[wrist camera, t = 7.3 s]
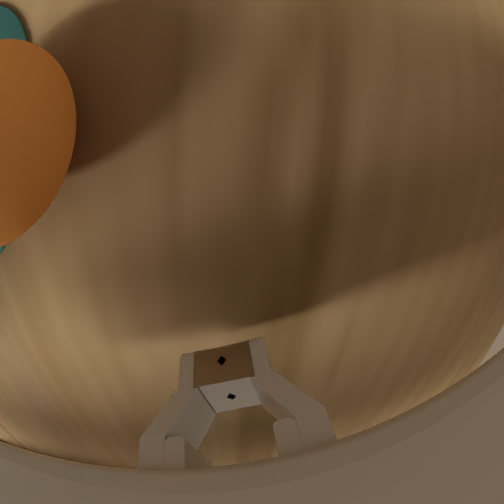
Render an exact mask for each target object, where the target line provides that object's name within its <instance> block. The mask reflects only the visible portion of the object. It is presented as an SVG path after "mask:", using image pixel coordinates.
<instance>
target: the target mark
mask: <svg viewBox="0 0 504 504" xmlns="http://www.w3.org/2000/svg"><path fill="white" fill-rule="evenodd" d="M0 39H19V40H24V41H27V37H26V34H25V31H24V28H23V26H22V23H21V22H20V20H19V19H18V17H17V15H16V14H14V13H13V12H12V11H11V10H10V9H8V8H6V7H4V6H1V5H0ZM4 246H5V245H4ZM4 246H2V247H0V253H1V252H2V250H3V248H4Z"/></svg>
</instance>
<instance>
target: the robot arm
mask: <svg viewBox="0 0 504 504" xmlns="http://www.w3.org/2000/svg"><path fill="white" fill-rule="evenodd" d="M255 405H262V406H263V407H264V408H265V409H266V410H267V411H268V412H269V413H270V414H272V415H273V416H274V417H275V418H276V419H277V421H275V423H274V424H273V430H274V435H275V440H276V445H277V450H278V455H279V456H278V457H274V458H269V459H264V460H259V461H253V462H247V463H240V464H233V465H226V466H217V467H211V461H210V460H208V459H207V458H206V457H205V456H203V455H202V454H201V453H200V452H199V451H198V449H199V447H200V445H201V443H202V441H203V439H204V437H205V435H206V434H207V432H208V430H209V428H210V426H211V424H212V422H213V420H214V418H215V416H216V413H219V412H224V411H229V410H234V409H239V408H245V407H250V406H255ZM0 504H504V348H503V349H502V350H500V351H499V352H498V353H497V354H496V355H494V356H493V357H492V358H490V359H489V360H488V361H486V362H485V363H484V364H482V365H481V366H480V367H478V368H477V369H476V370H474V371H473V372H471V373H470V374H469V375H467V376H466V377H464V378H463V379H461V380H460V381H458V382H457V383H455V384H454V385H452V386H450V387H449V388H447V389H446V390H444V391H442V392H441V393H439V394H437V395H435V396H434V397H432V398H430V399H429V400H427V401H425V402H423V403H421V404H419V405H418V406H416V407H414V408H412V409H410V410H408V411H406V412H404V413H402V414H400V415H398V416H396V417H393V418H391V419H389V420H387V421H385V422H382V423H380V424H378V425H376V426H373V427H371V428H368V429H366V430H363V431H361V432H358V433H356V434H353V435H350V436H347V437H345V438H342V439H339V440H337V439H336V436H335V433H334V430H333V428H332V425H331V422H330V419H329V417H328V414H327V411H326V408H325V406H324V405H322V404H321V403H319V402H318V401H316V400H315V399H313V398H312V397H311V396H309V395H308V394H306V393H305V392H303V391H302V390H301V389H299V388H298V387H297V386H295V385H294V384H292V383H291V382H290V381H288V380H287V379H286V378H284V377H283V376H282V375H280V374H279V373H278V372H276V371H274V372H273V370H272V366H271V363H270V359H269V356H268V352H267V349H266V345H265V342H264V338H263V337H259V338H255V339H251V340H247V341H243V342H239V343H235V344H231V345H226V346H222V347H218V348H213V349H208V350H202V351H196V352H192V353H186V354H182V355H181V358H180V371H179V389H178V391H174V393H173V394H172V395H171V397H170V398H169V399H168V401H167V402H166V403H165V405H164V406H163V407H162V409H161V410H160V411H159V413H158V414H157V415H156V417H155V418H154V419H153V420H152V422H151V423H150V424H149V426H148V427H147V428H146V430H145V431H144V432H143V434H142V435H141V436H140V443H139V454H138V468H137V469H134V468H120V467H109V466H101V465H93V464H86V463H80V462H75V461H69V460H64V459H60V458H55V457H51V456H47V455H43V454H39V453H36V452H32V451H29V450H25V449H22V448H19V447H16V446H13V445H10V444H7V443H5V442H2V441H0Z"/></svg>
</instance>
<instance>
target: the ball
mask: <svg viewBox="0 0 504 504" xmlns="http://www.w3.org/2000/svg"><path fill="white" fill-rule="evenodd" d="M75 136H76V107H75V100H74V96H73V91H72V88H71V85H70V82H69V79H68V77H67V75H66V74H65V72H64V70H63V68H62V67H61V66H60V64H59V63H58V62H57V60H56V59H55V58H54V57H53V56H52V55H51V54H49V53H48V52H47V51H46V50H45V49H43V48H41V47H40V46H38V45H36V44H33V43H30V42H28V41H24V40H19V39H0V247H2V246H4V245H6V244H8V243H10V242H12V241H13V240H15V239H16V238H18V237H19V236H21V235H22V234H23V233H24V232H26V231H27V230H28V229H29V228H30V227H31V226H32V225H33V224H34V223H35V222H36V221H37V220H38V219H39V218H40V217H41V216H42V215H43V213H44V212H45V211H46V209H47V208H48V207H49V205H50V204H51V202H52V201H53V199H54V198H55V196H56V194H57V192H58V190H59V188H60V186H61V185H62V183H63V180H64V178H65V175H66V173H67V170H68V167H69V164H70V161H71V158H72V153H73V149H74V144H75Z"/></svg>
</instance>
